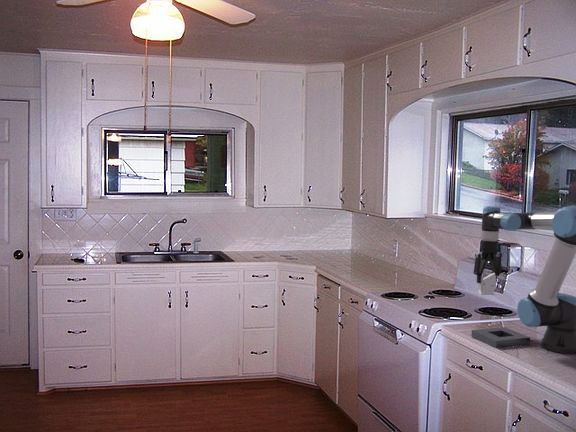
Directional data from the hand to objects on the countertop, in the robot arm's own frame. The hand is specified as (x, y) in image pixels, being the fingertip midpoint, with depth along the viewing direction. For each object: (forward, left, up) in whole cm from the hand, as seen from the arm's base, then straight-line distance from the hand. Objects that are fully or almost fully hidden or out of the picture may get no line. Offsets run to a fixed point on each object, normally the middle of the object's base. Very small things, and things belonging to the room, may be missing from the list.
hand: (486, 289), depth 282 cm
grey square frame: (-17, +5, -19) cm, 26 cm away
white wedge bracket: (0, 0, -2) cm, 2 cm away
